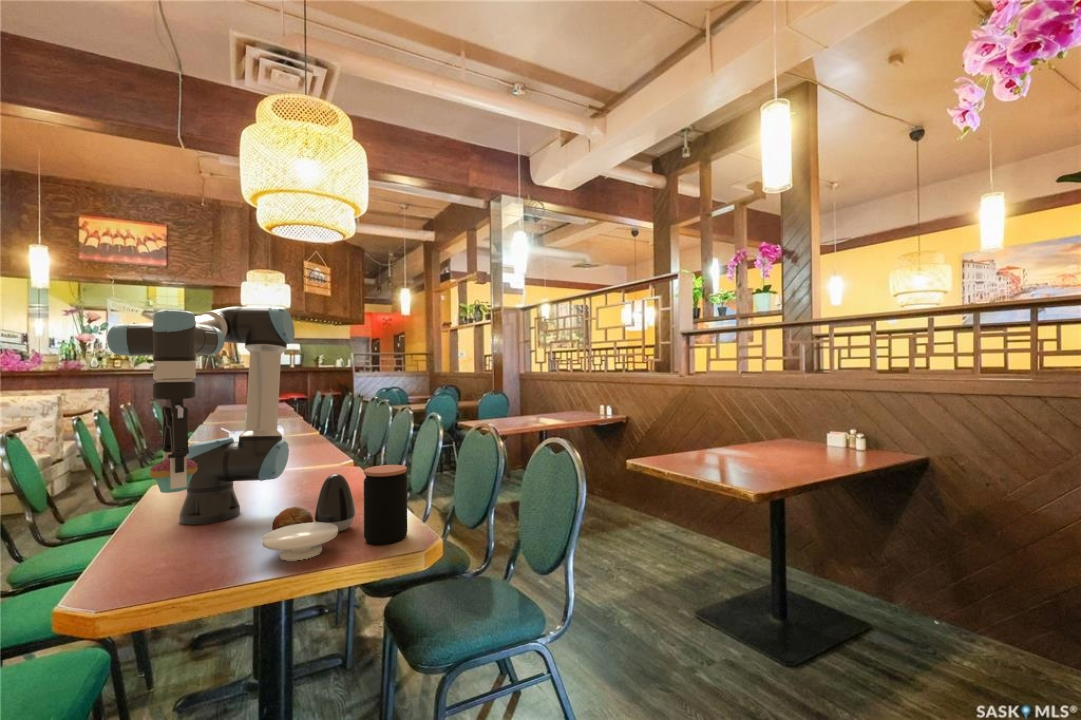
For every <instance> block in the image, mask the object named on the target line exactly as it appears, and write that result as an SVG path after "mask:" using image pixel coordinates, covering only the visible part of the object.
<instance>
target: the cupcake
mask: <svg viewBox="0 0 1081 720" xmlns="http://www.w3.org/2000/svg"><path fill="white" fill-rule="evenodd" d="M178 450H179V449H178ZM197 466H198V464H197V463H195V462H194V461H193V460H190V459H188V458H187V487H181V488H175V489H170V458H169V459H165V460H164V461H163V459H162V460H160V461H159V462H157V463H155V464H154V465H152V467H151V468H150V469H149V478H150V479H154V480H155V482H156V484H157V486H158V488H159V492H160V493H162V494H170V493H171V494H172V493H179V492H183V491H187V488H188V485H189V482H190V480H191V478H192V476H193V474H194V473H195V472H196V471H197Z"/></svg>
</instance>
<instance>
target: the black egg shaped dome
mask: <svg viewBox="0 0 1081 720" xmlns="http://www.w3.org/2000/svg"><path fill="white" fill-rule="evenodd" d="M354 500H355V499H354V496H353V493H352V490H351V487H350V484H349V482H348V481H347V478H345V477H344V475H342V474H340V473H339V474H338V473H333V474H330V475H329V476H328V477H327V478H325V480H324V482H323V483H322V485H321V488H320V491H319V493H318V498H317V501H316V505H315V512H314V520H315V522H323V523H331V524H334V525H336V526H337V527H338V533H341V532H344V531H345V530H347V529H348V528H349V527H350V526H351V525H352V524H353V521H354V519H355V516H356V507H355V505H356V504H355V501H354ZM343 530H344V531H343ZM340 531H341V532H340Z"/></svg>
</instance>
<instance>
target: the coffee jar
mask: <svg viewBox="0 0 1081 720" xmlns="http://www.w3.org/2000/svg"><path fill="white" fill-rule="evenodd" d="M407 470H408V468H407V466H405V465H401V464H384V465H375V466H370V467H366V468H365V469H364V470H363V474H364V475H365V477H364V479H363V537H364V540H365V541H366V542H367V543H368V544H370V545H374V546H386V545H387V544H388V545H392V544H396V543H399V542H401V541H403V540H404V539H405V538H406V536H407V534H408V476H407V475H406V473H407ZM388 545H387V546H388Z"/></svg>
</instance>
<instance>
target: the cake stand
mask: <svg viewBox="0 0 1081 720" xmlns="http://www.w3.org/2000/svg"><path fill="white" fill-rule="evenodd" d="M338 534H339V532H338V527H337V526H336V525H334V524H331V523H323V522H316V521H314V522H312V523H302V524H295V525H290V526H286V527H282V528H279V529H276V530H273V531H272V530H271V531H269V532H267V533H266V534H264V535H263V537H262V547H263V548H266V549H269V550H274V551H280V552H279V560H281V559H282V560H281V561H283V560H286V561H285V562H298V561H297V560H301V561H304V560H303V559H306V560H309V559H308V558H310V559H312V558H311V557H313V558H315V557H314V556H316V557H318V556H319V555H320V553H321V552H322V553H323V545H322V544H325V543H328V542H330V541H332V540H333V539H334V538H336V537H337V536H338ZM317 555H318V556H317Z"/></svg>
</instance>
